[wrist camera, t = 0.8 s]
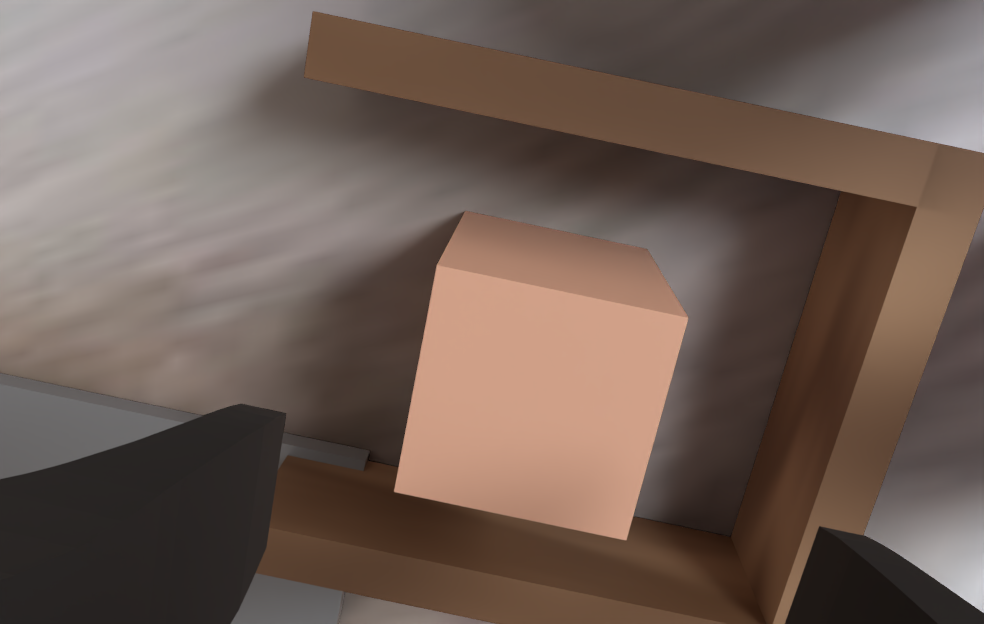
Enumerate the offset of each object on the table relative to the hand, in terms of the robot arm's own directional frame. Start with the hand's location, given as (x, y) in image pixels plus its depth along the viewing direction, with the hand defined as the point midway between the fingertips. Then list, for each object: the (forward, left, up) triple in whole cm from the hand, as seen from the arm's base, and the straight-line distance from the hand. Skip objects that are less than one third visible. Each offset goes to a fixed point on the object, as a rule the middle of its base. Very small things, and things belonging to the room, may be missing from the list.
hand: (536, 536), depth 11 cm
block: (0, 0, -10) cm, 10 cm away
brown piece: (0, -1, -10) cm, 10 cm away
